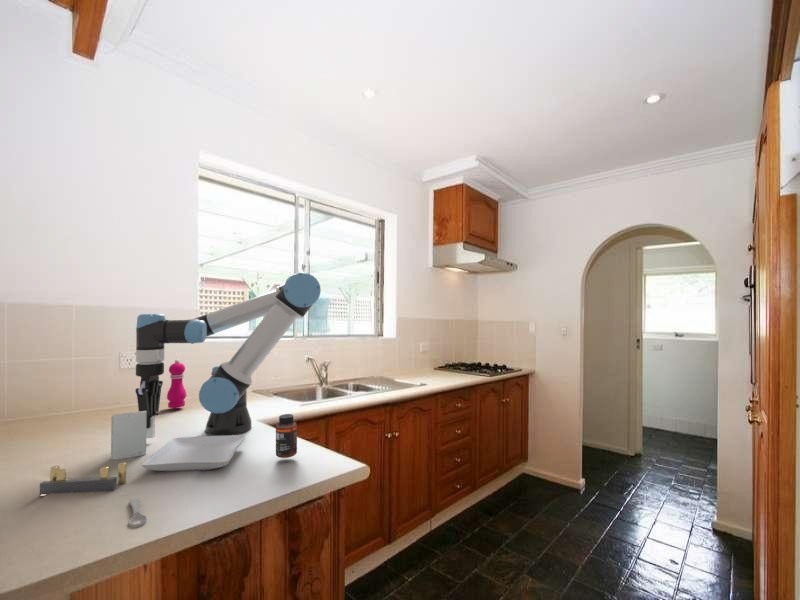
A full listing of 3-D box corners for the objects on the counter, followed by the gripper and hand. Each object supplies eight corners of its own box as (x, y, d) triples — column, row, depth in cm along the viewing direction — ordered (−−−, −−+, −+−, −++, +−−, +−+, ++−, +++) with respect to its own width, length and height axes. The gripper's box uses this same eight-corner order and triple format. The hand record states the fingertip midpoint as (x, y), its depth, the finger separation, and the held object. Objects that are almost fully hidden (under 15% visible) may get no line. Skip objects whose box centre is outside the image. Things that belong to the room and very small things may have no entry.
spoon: (128, 533, 74) (128, 523, 74) (125, 507, 83) (125, 498, 83) (147, 528, 75) (147, 518, 75) (141, 503, 85) (142, 494, 85)
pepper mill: (180, 408, 161) (180, 360, 161) (162, 408, 161) (163, 360, 161) (189, 404, 168) (190, 358, 168) (173, 403, 168) (173, 358, 168)
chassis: (127, 482, 94) (127, 461, 94) (115, 492, 89) (116, 470, 89) (53, 486, 92) (53, 465, 92) (37, 497, 87) (37, 474, 87)
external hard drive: (146, 454, 111) (146, 411, 112) (110, 461, 107) (111, 416, 107) (146, 453, 113) (146, 410, 113) (111, 459, 108) (111, 414, 108)
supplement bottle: (295, 449, 116) (296, 412, 116) (298, 457, 110) (298, 417, 110) (274, 452, 114) (275, 413, 114) (276, 460, 108) (276, 419, 108)
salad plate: (246, 444, 121) (246, 433, 121) (228, 473, 100) (228, 459, 100) (173, 448, 118) (173, 436, 118) (139, 479, 97) (139, 465, 97)
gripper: (147, 359, 128) (146, 431, 127) (126, 365, 115) (124, 445, 115) (171, 359, 129) (170, 430, 129) (153, 365, 116) (152, 444, 116)
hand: (148, 437), depth 122 cm, fingers closed
